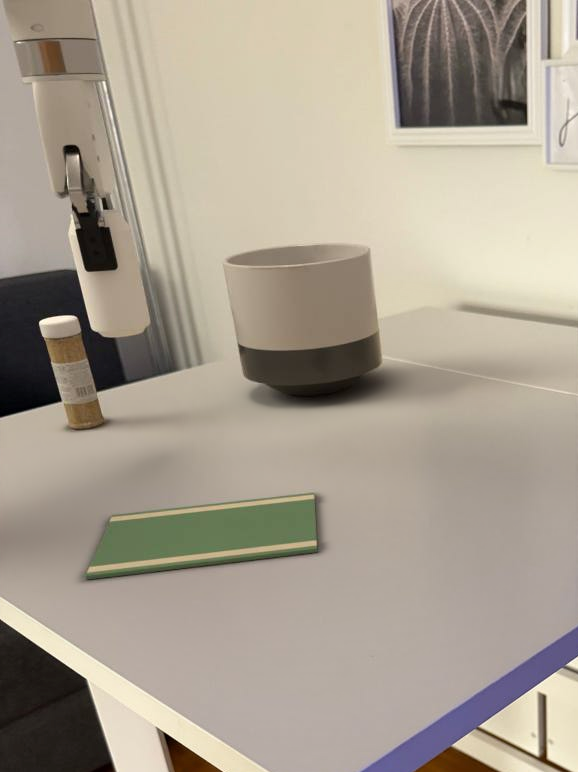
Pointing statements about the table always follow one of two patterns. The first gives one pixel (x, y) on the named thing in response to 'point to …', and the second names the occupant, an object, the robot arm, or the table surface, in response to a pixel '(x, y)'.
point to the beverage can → (113, 284)
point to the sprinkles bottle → (72, 371)
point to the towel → (206, 535)
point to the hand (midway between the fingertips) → (107, 264)
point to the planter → (305, 316)
